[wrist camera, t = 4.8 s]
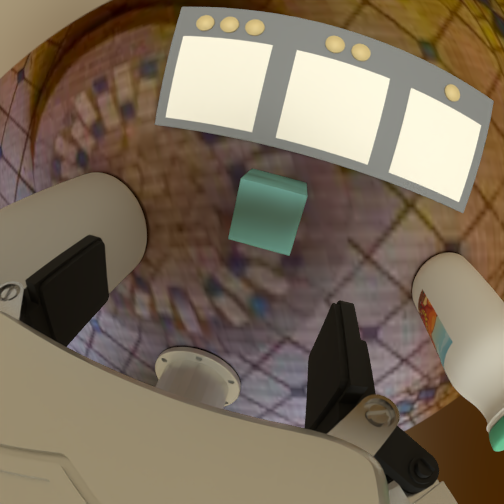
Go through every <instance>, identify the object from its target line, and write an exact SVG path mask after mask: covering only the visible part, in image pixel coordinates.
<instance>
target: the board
mask: <svg viewBox="0 0 504 504" xmlns="http://www.w3.org/2000/svg"><path fill="white" fill-rule="evenodd" d="M492 107H493V100H491V99H490V98H488V97H487V96H485V95H484V94H482V93H481V92H479V91H478V90H476V89H475V88H473V87H472V86H470V85H468V84H467V83H465V82H463V81H462V80H460V79H458V78H457V77H455V76H453V75H451V74H450V73H448V72H446V71H444V70H442V69H440V68H438V67H437V66H435V65H433V64H431V63H429V62H427V61H425V60H423V59H420V58H418V57H416V56H414V55H412V54H410V53H407V52H405V51H403V50H400V49H398V48H396V47H393V46H391V45H388V44H386V43H383V42H380V41H378V40H375V39H372V38H370V37H367V36H364V35H361V34H358V33H355V32H351V31H348V30H345V29H342V28H338V27H335V26H331V25H327V24H323V23H319V22H315V21H311V20H306V19H302V18H297V17H292V16H286V15H281V14H275V13H268V12H261V11H253V10H243V9H232V8H216V7H182V9H181V12H180V15H179V19H178V22H177V26H176V29H175V33H174V37H173V40H172V44H171V48H170V52H169V56H168V60H167V65H166V69H165V74H164V78H163V83H162V88H161V93H160V98H159V103H158V109H157V114H156V120H155V125H161V126H169V127H176V128H182V129H188V130H195V131H200V132H206V133H212V134H217V135H222V136H227V137H232V138H237V139H242V140H246V141H251V142H255V143H260V144H264V145H268V146H272V147H276V148H280V149H284V150H288V151H292V152H296V153H299V154H303V155H307V156H310V157H314V158H317V159H320V160H324V161H327V162H330V163H334V164H337V165H340V166H343V167H346V168H350V169H353V170H356V171H359V172H362V173H365V174H367V175H370V176H373V177H376V178H379V179H382V180H384V181H387V182H390V183H393V184H395V185H398V186H400V187H403V188H406V189H408V190H411V191H413V192H416V193H418V194H421V195H423V196H425V197H428V198H430V199H433V200H435V201H437V202H439V203H442V204H444V205H446V206H449V207H451V208H453V209H455V210H457V211H459V212H462V213H463V212H464V209H465V207H466V204H467V201H468V198H469V195H470V192H471V189H472V186H473V183H474V180H475V177H476V174H477V170H478V167H479V164H480V160H481V156H482V153H483V149H484V145H485V141H486V137H487V132H488V128H489V123H490V118H491V113H492Z"/></svg>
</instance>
